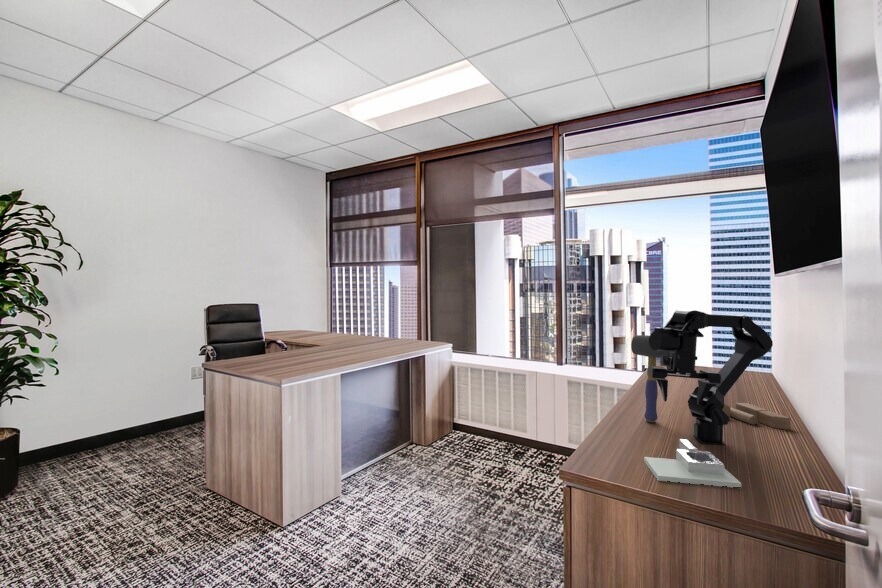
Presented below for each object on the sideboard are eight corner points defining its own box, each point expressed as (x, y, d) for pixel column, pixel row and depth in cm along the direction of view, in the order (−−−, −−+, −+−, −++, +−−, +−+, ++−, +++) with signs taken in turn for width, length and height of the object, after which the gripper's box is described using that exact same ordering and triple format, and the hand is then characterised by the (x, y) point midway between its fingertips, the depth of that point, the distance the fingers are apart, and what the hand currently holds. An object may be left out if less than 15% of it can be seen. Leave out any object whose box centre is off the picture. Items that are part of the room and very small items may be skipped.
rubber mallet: (628, 419, 143) (629, 334, 142) (635, 415, 148) (637, 333, 147) (667, 428, 134) (669, 338, 133) (673, 423, 139) (675, 336, 139)
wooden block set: (743, 399, 152) (792, 414, 134) (743, 414, 152) (791, 431, 134) (703, 400, 149) (747, 416, 131) (703, 415, 149) (746, 433, 132)
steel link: (667, 448, 115) (667, 438, 114) (698, 451, 113) (698, 440, 113) (688, 471, 100) (688, 459, 100) (724, 474, 99) (724, 462, 99)
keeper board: (718, 467, 106) (718, 448, 105) (741, 488, 95) (741, 466, 95) (644, 461, 109) (644, 442, 109) (657, 480, 98) (658, 459, 98)
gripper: (706, 350, 128) (703, 399, 128) (643, 345, 132) (640, 393, 132) (724, 355, 117) (720, 409, 117) (654, 350, 121) (651, 402, 121)
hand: (681, 402), depth 122 cm, fingers open, 9 cm apart
